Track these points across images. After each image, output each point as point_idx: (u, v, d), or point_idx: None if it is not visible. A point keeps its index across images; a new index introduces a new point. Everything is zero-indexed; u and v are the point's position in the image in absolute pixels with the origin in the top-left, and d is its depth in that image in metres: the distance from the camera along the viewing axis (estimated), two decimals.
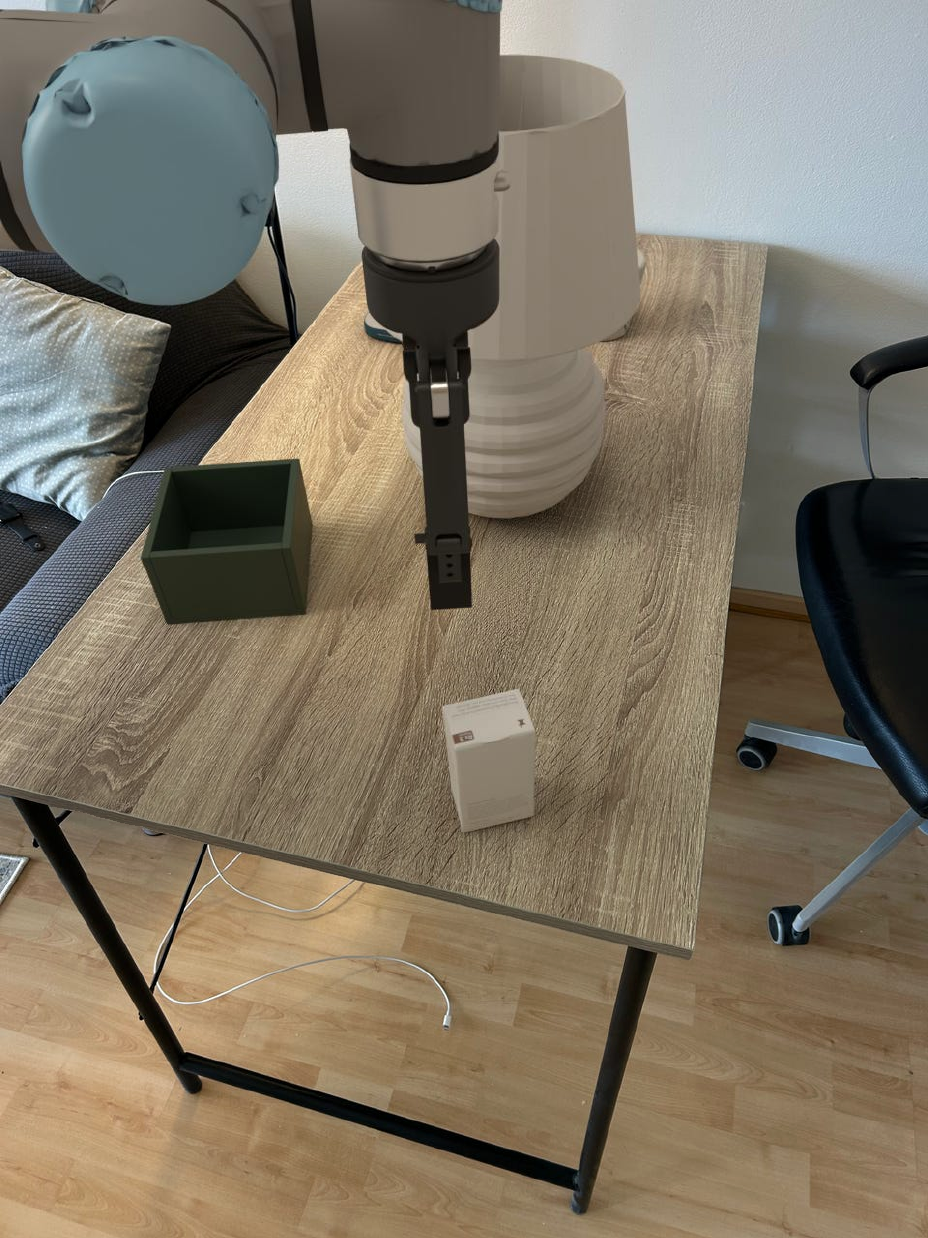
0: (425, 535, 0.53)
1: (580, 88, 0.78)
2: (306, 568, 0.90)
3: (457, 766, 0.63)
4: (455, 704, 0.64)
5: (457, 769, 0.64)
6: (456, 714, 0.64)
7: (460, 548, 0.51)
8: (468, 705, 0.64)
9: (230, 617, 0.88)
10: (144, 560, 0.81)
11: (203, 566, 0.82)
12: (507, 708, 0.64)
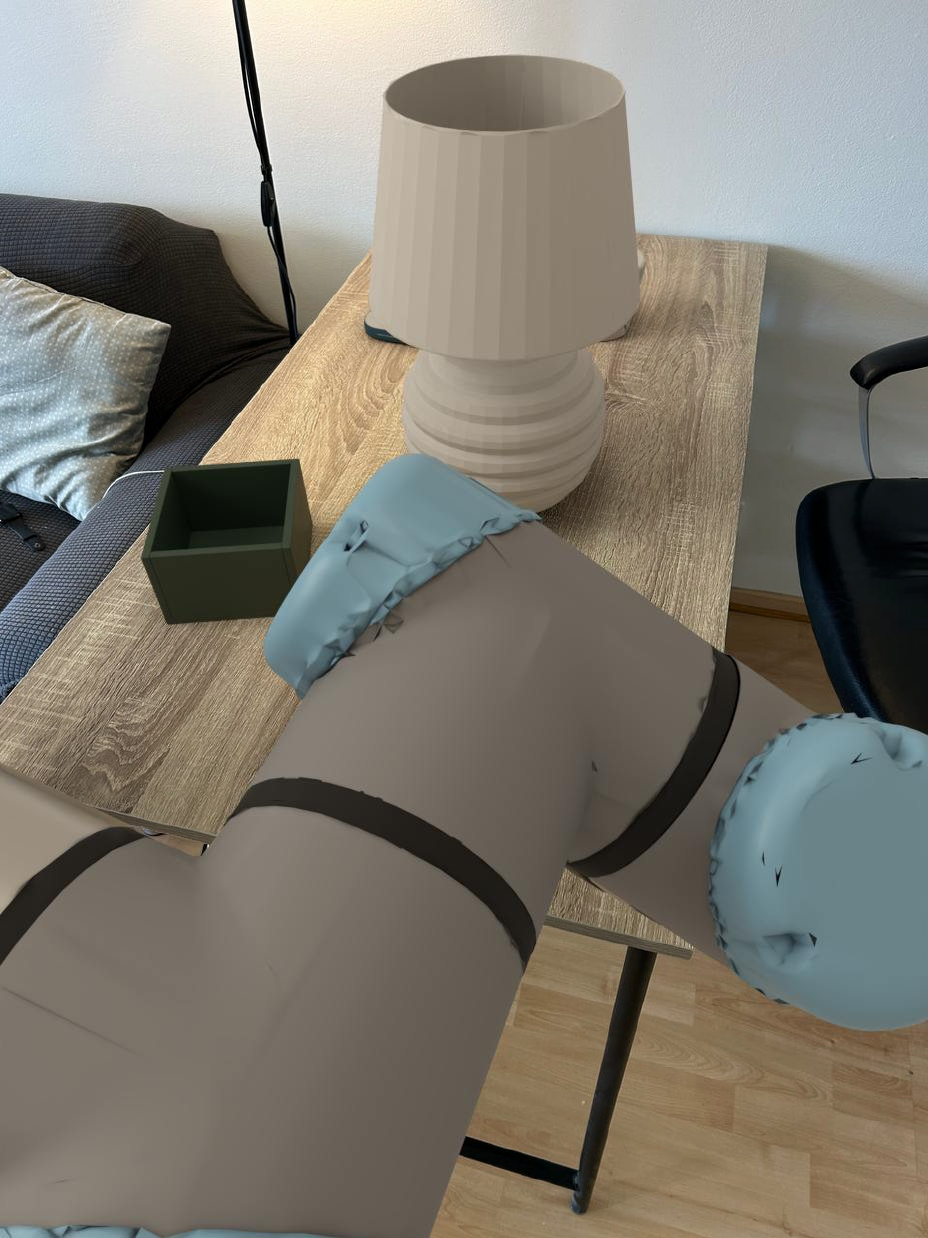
0: None
1: (580, 88, 0.78)
2: None
3: None
4: None
5: None
6: None
7: None
8: None
9: (230, 617, 0.88)
10: (144, 560, 0.81)
11: (203, 566, 0.82)
12: None
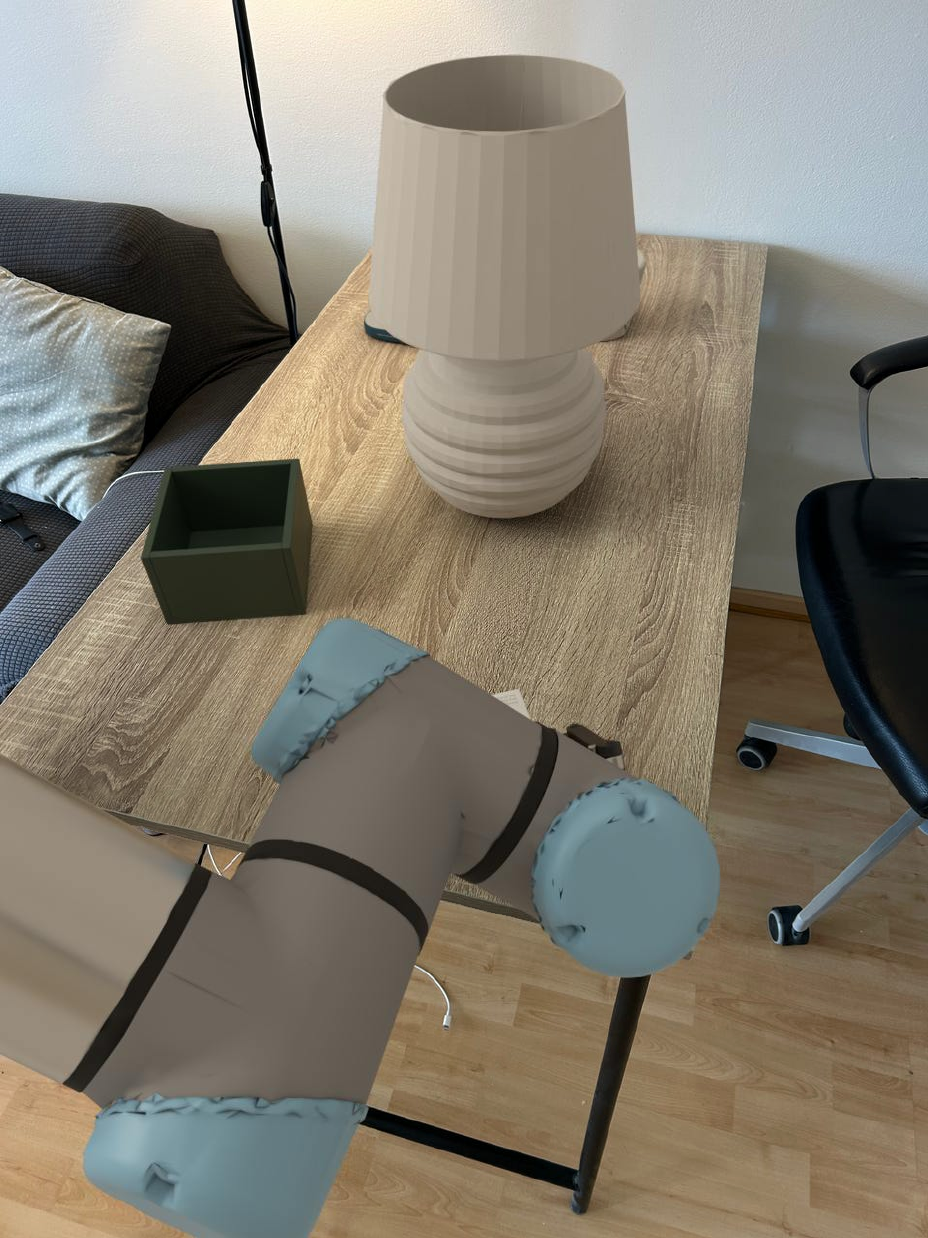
0: None
1: (580, 88, 0.78)
2: (306, 568, 0.90)
3: None
4: None
5: None
6: None
7: None
8: None
9: (230, 617, 0.88)
10: (144, 560, 0.81)
11: (203, 566, 0.82)
12: None
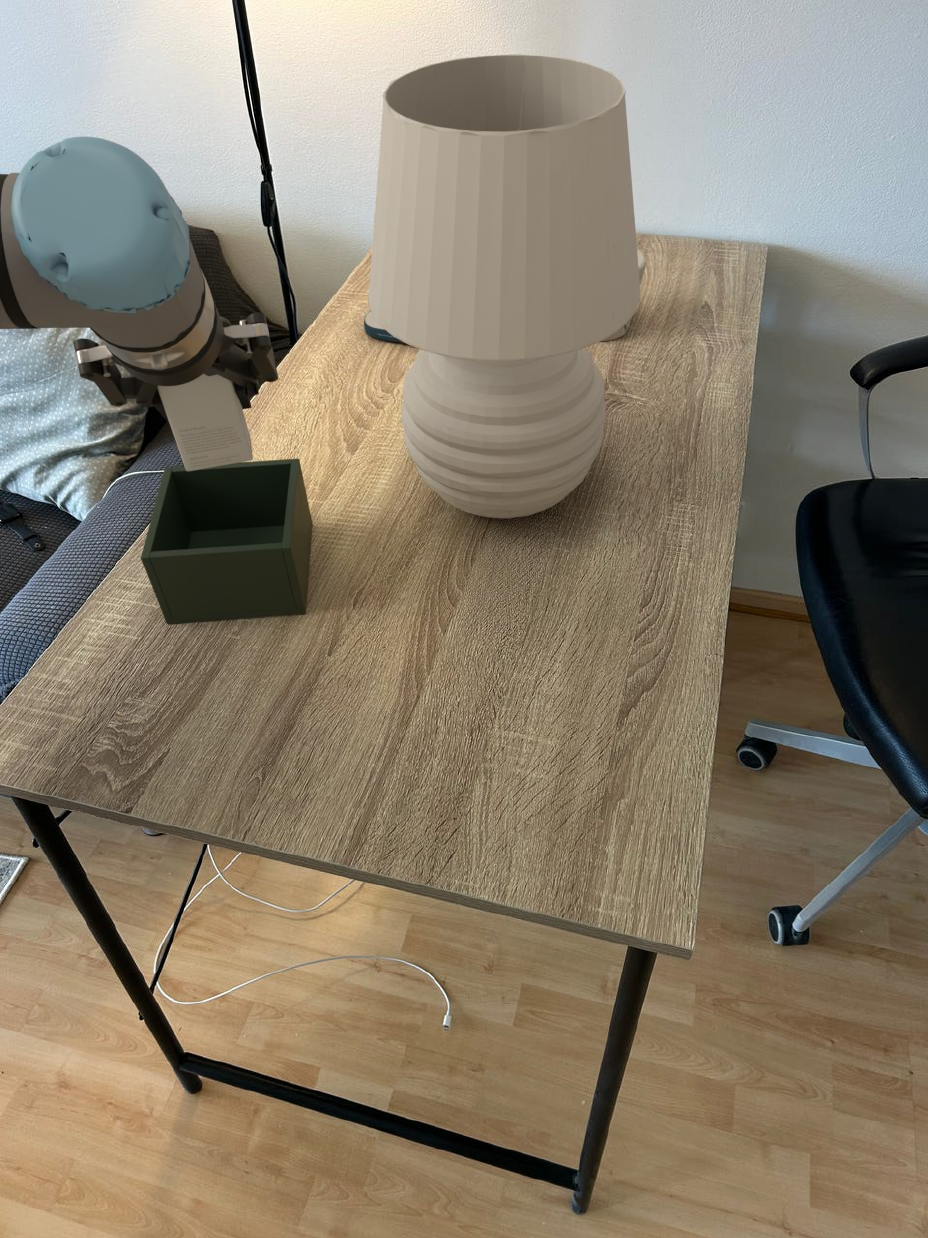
0: None
1: (580, 88, 0.78)
2: (306, 568, 0.90)
3: None
4: None
5: None
6: None
7: None
8: None
9: (230, 617, 0.88)
10: (144, 560, 0.81)
11: (203, 566, 0.82)
12: None
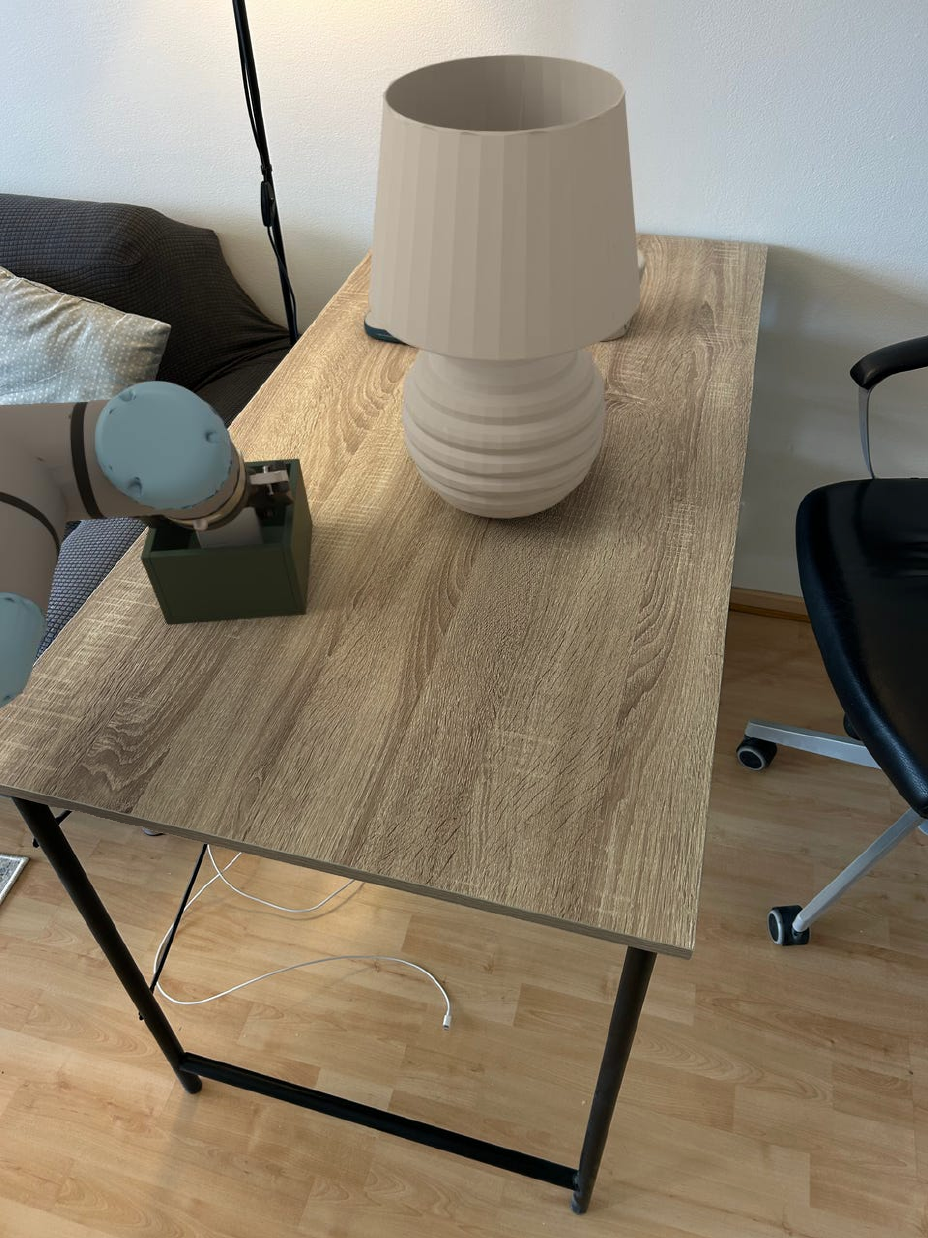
0: None
1: (580, 88, 0.78)
2: (306, 568, 0.90)
3: None
4: None
5: None
6: None
7: None
8: None
9: (230, 617, 0.88)
10: (144, 560, 0.81)
11: (203, 566, 0.82)
12: None
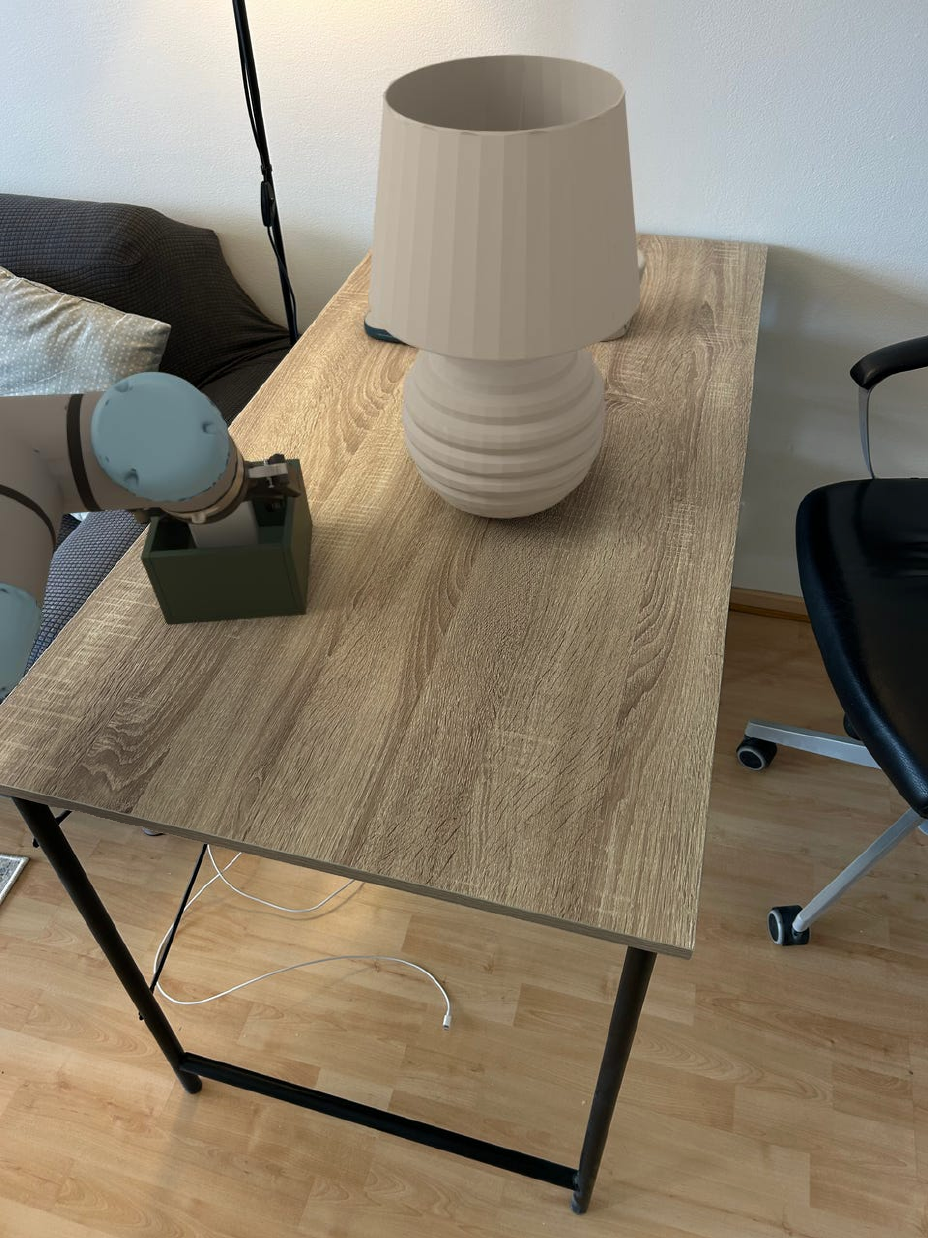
0: None
1: (580, 88, 0.78)
2: (306, 568, 0.90)
3: None
4: None
5: None
6: None
7: None
8: None
9: (230, 617, 0.88)
10: (144, 560, 0.81)
11: (203, 566, 0.82)
12: None
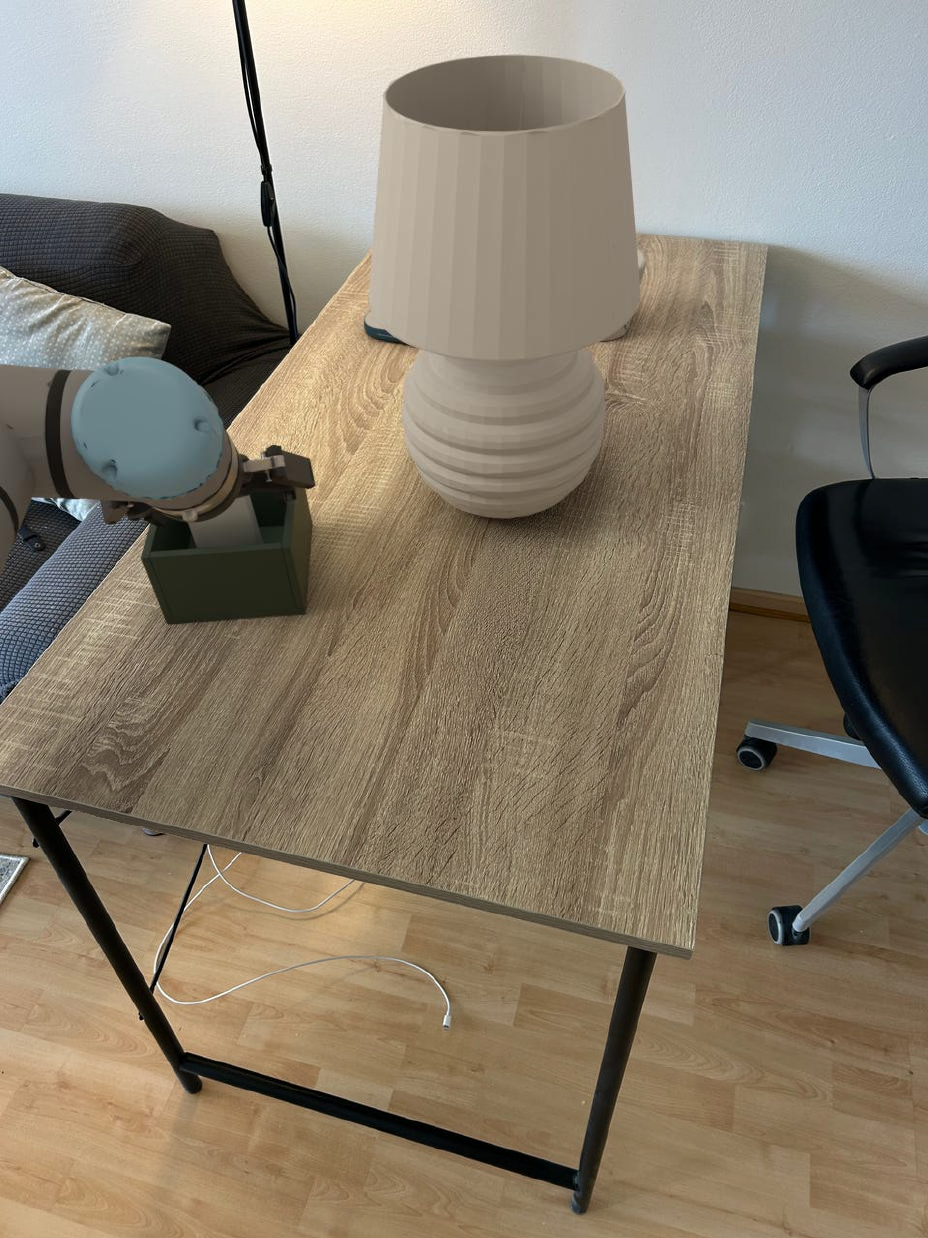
0: None
1: (580, 88, 0.78)
2: (306, 568, 0.90)
3: None
4: None
5: None
6: None
7: None
8: None
9: (230, 617, 0.88)
10: (144, 560, 0.81)
11: (203, 566, 0.82)
12: None
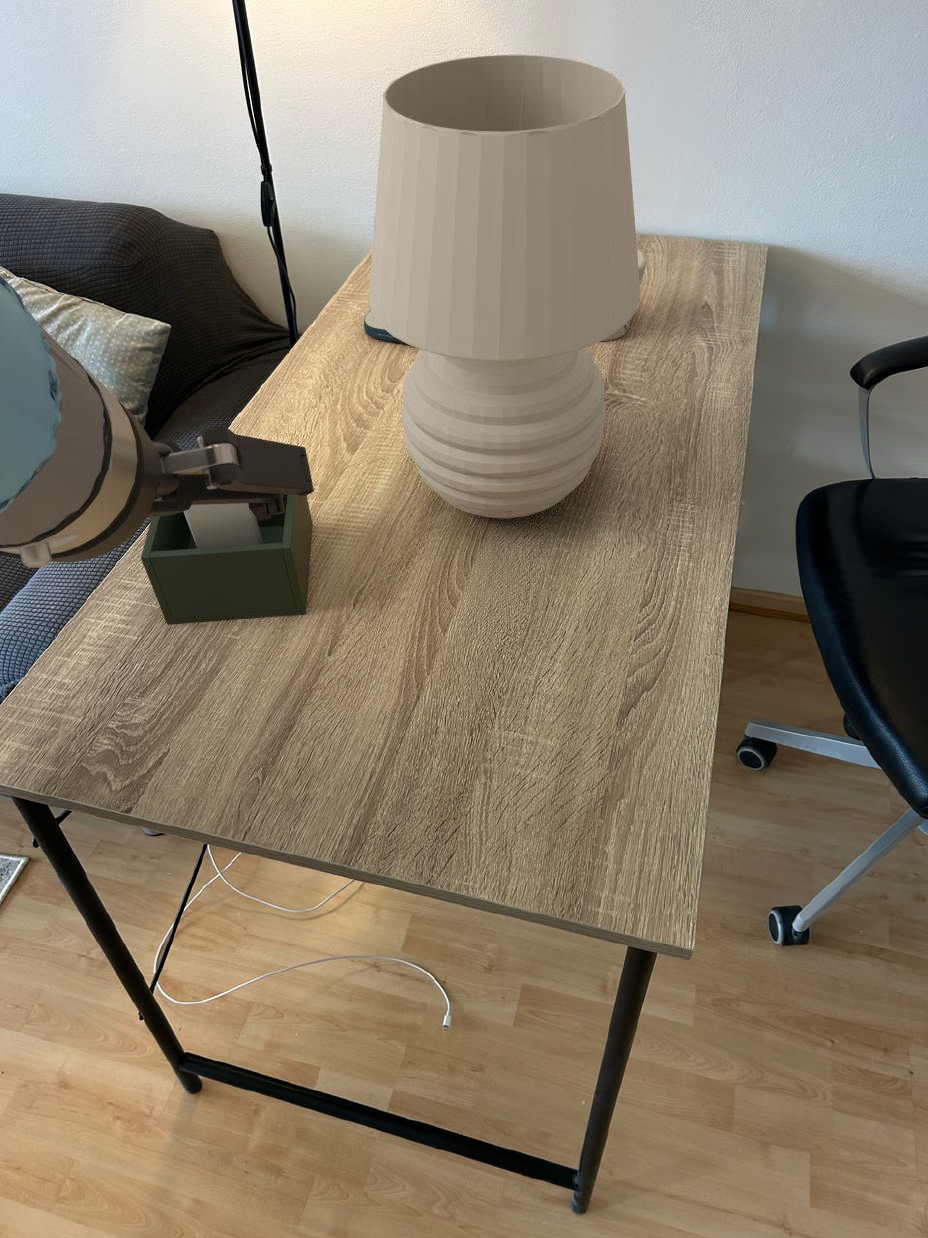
0: None
1: (580, 88, 0.78)
2: (306, 568, 0.90)
3: (184, 511, 0.83)
4: None
5: (185, 514, 0.83)
6: None
7: None
8: None
9: (230, 617, 0.88)
10: (144, 560, 0.81)
11: (203, 566, 0.82)
12: None
